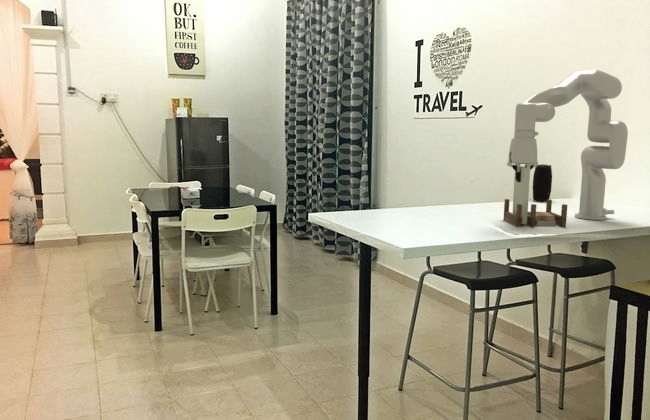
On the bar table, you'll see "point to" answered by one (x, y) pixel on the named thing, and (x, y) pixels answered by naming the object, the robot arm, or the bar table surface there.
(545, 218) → the offcut
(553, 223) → the offcut
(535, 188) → the portable speaker
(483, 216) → the bar table surface
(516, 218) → the rack
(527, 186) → the sheet
